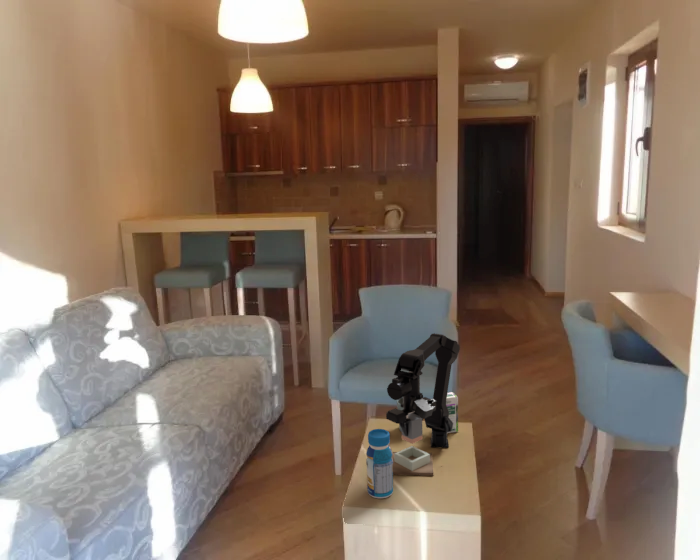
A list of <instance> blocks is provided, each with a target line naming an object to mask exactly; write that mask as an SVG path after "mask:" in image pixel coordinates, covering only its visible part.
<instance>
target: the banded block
mask: <svg viewBox="0 0 700 560" xmlns="http://www.w3.org/2000/svg"><path fill="white" fill-rule="evenodd" d="M408 419H411V421H410V422H409V423H408V436H405V434H404V432H403V430H402V432H401V439H402V440H403V441H406V442H408V443H410V444H412V445H413V444H415V443H417V442H419V441H422V440H423V421H422V418H421V417H420V416H418V415H416V414H414V413H410V414H408Z"/></svg>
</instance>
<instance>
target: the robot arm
mask: <svg viewBox="0 0 700 560" xmlns="http://www.w3.org/2000/svg"><path fill="white" fill-rule="evenodd" d="M460 348H461V347H460V344H459V343H458V342H457V340H453V339H451V338H449V337H447V336H446V335H444V334H441V333H435V332H434V333H431V334H430V336H429V337H428V338H427V339H426V340H425V341H423V342H422V343H421V344H420V345H419V346H417V347H416V348H415V349H412V350H407V351H405V352H403V353H401V355H400V356H399V357H398V361H397V364H396V365H395V366H396V367H395V370H394V373H393V376H397V377H394V378H392V379H391V382H390V383H389V384H388V386H387V387H386V392H387V396H389V398H390V399H392V400H394V401H397V400H399V399H400V398H402V397H403V403H402V404H401V407H402V408H403V410H398V408H396V407H395V408H391V409H389V410H388V411H386V413H385V415H386V418H385V419H386V420H387V421H390V422H392V423H395V424H397V425H398V424H399V425H400V426H401V428H402V430H403V432H404V434H405V436H408V423H409V422H410V421H411V419H408V414H410V413H414V414H416V415H418V416H420V417H421V418H422V422H423V421H424V422H425V424H424V425H425V428H427V429H431V438H430V441H429V442H430V448H443V449H446V448H450V446H449V445H450V444H449V439H448V433H447V432H451V429H452V428H453V422H452V421H451V420H450V419H449V411H448V408H447V406H446V399H447V393H449V392H448V391H449V384H450V378H451V371H452V365H453V364H454V363H455V362H456V360H457V359H458V355H459V353H460V350H461V349H460ZM433 354H434V355H435V357H436V358H435V359H436V360H437V369H436V375H435V382H434V389H433V396H432V398H428V397H426V396H424V394H423V392H421V384H420V383H421V382H420V379H421V378H420V376H422V375H423V372H422V369H423V368H424V366H425V361H426V360H428V358H429V357H430V356H432V355H433Z"/></svg>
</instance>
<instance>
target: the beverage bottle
mask: <svg viewBox="0 0 700 560" xmlns="http://www.w3.org/2000/svg"><path fill="white" fill-rule="evenodd" d="M390 437H391V434H390V432H389V431H388V430H387V429H383V428H375V429H372V430H369V431H368V434H367V439H368V441H367V442H368V447H367V449H366V453H365V454H366V459H365V464H366V465H365V466H366V478H367V479H366V480H367V481H366V482H367V483H366V484H367V485H366V486H367V487H366V489H367V490H366V491H367V493H368V495H369V496H371V497H372V498H374V499H387V498H389V497H390V496H392V495H393V492H394V475H393V459H392V454H393V450H392V448H391V446H390V442H391V438H390Z"/></svg>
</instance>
